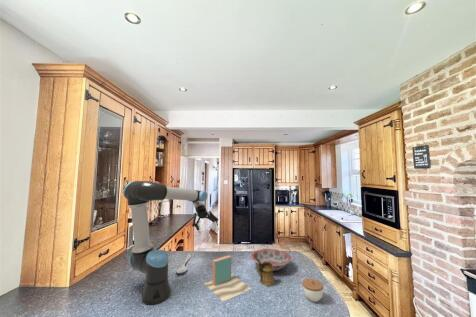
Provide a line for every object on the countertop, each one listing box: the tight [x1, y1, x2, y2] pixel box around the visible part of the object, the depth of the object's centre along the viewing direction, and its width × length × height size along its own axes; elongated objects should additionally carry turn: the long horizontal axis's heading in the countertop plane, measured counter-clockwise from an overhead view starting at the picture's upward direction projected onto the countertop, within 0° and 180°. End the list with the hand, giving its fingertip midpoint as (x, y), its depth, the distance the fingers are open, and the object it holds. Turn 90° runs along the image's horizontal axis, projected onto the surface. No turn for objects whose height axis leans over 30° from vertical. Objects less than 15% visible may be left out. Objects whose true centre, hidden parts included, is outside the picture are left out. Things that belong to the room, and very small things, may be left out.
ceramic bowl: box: [250, 248, 292, 272], centre depth 143 cm, size 29×29×8 cm
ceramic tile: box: [212, 254, 232, 286], centre depth 123 cm, size 3×12×14 cm, turn 127°
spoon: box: [175, 253, 192, 275], centre depth 149 cm, size 35×8×3 cm, turn 3°
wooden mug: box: [253, 254, 275, 287], centre depth 123 cm, size 9×14×18 cm, turn 97°
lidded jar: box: [301, 278, 324, 303], centre depth 106 cm, size 11×11×9 cm
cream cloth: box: [204, 273, 253, 302], centre depth 117 cm, size 22×20×1 cm
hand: (209, 231), depth 138 cm, fingers open, 13 cm apart
